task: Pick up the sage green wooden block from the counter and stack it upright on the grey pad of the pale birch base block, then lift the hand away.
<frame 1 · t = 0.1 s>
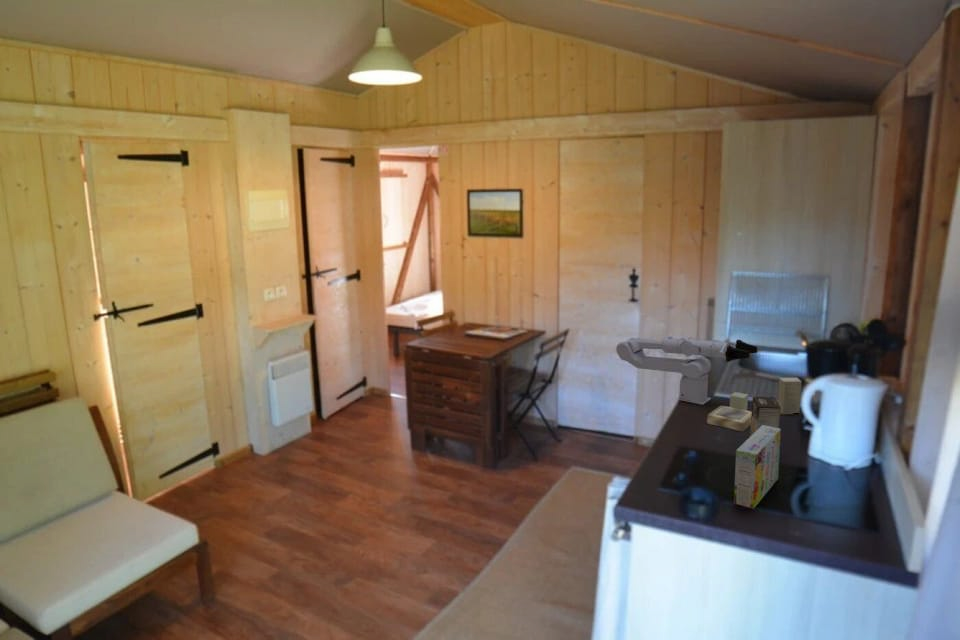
hand: (753, 352, 228), 22 cm above the worktop, tool horizontal, fingers open, 7 cm apart
skincare box: (787, 412, 231), on the worktop
base block: (731, 422, 223), on the worktop
green block: (738, 411, 233), on the worktop
snack box: (756, 492, 175), on the worktop
coffee box: (762, 452, 199), on the worktop
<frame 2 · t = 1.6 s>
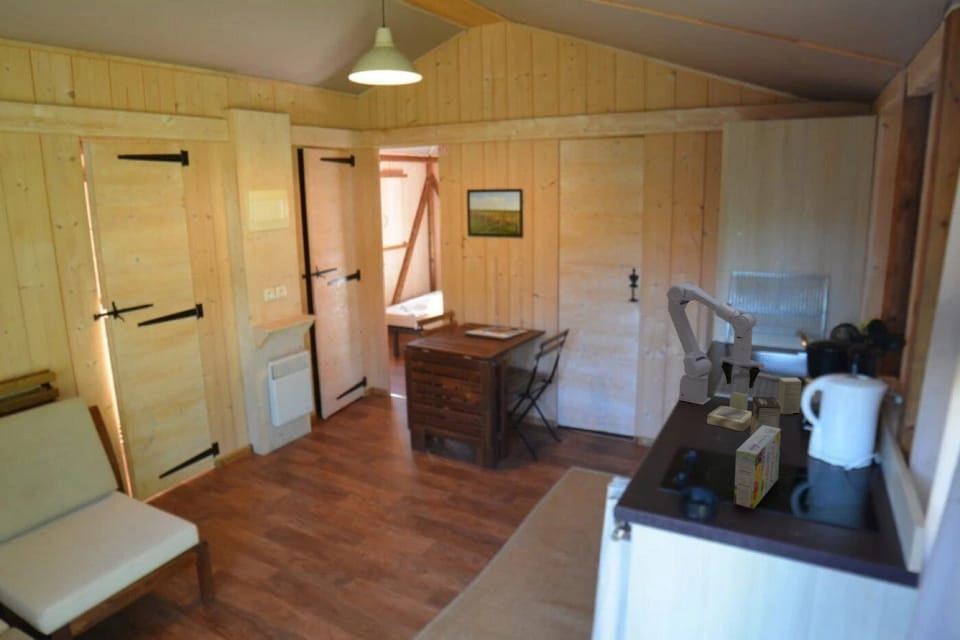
hand: (739, 385, 231), 9 cm above the worktop, tool pointing down, fingers open, 7 cm apart
nothing on the worktop moved.
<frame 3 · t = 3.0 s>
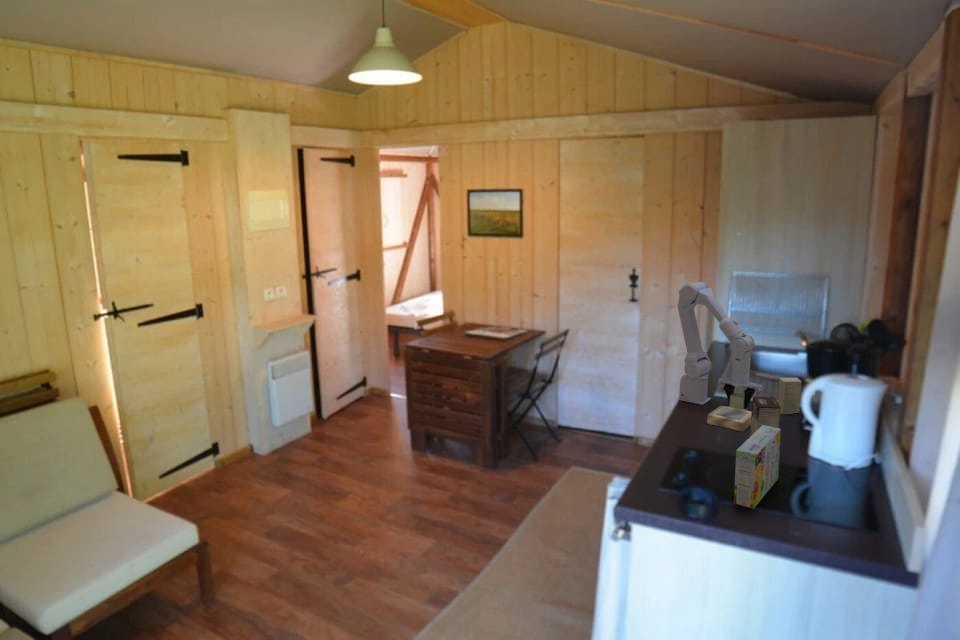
hand: (738, 406, 232), 2 cm above the worktop, tool pointing down, fingers closed on green block, 5 cm apart
green block: (738, 411, 233), on the worktop, touching gripper
everything else where it was.
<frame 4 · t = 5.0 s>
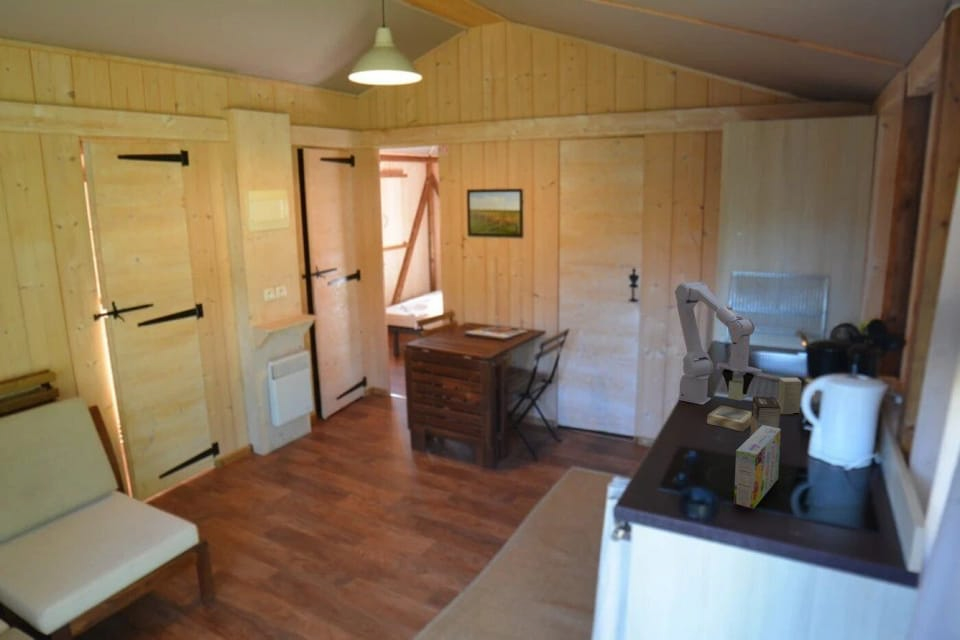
hand: (737, 392, 227), 8 cm above the worktop, tool pointing down, fingers closed on green block, 5 cm apart
green block: (737, 397, 227), point 6 cm above the worktop, touching gripper
everything else where it was.
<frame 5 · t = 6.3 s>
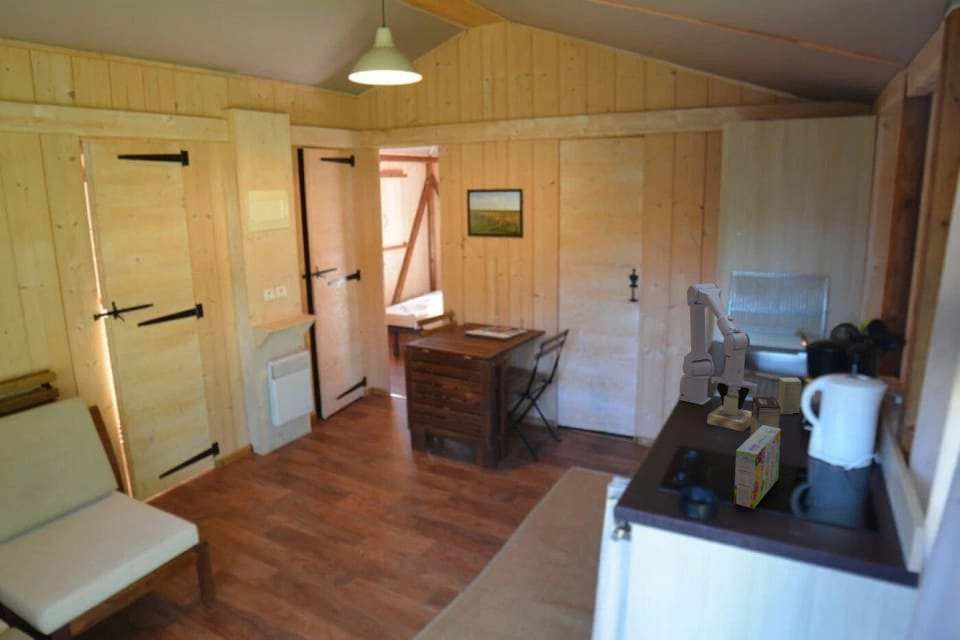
hand: (732, 406, 221), 5 cm above the worktop, tool pointing down, fingers closed on green block, 5 cm apart
green block: (732, 412, 222), point 3 cm above the worktop, touching base block, gripper
everything else where it was.
when the fingers open (5 cm above the worktop, at t = 7.0 s): green block stays where it is, resting on base block.
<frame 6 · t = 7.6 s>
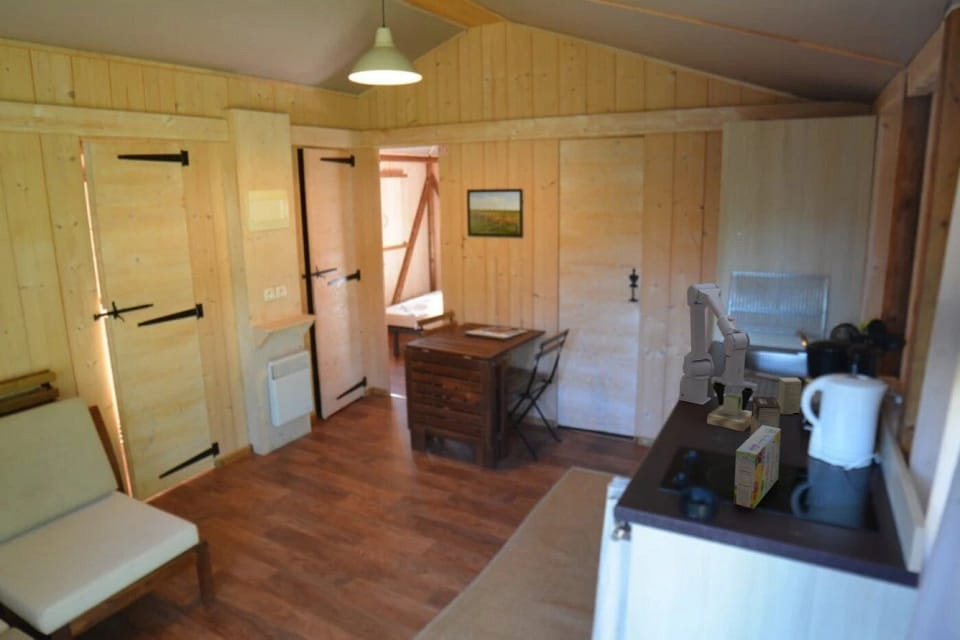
hand: (732, 407, 221), 5 cm above the worktop, tool pointing down, fingers open, 7 cm apart
green block: (732, 412, 222), point 3 cm above the worktop, touching base block
everything else where it was.
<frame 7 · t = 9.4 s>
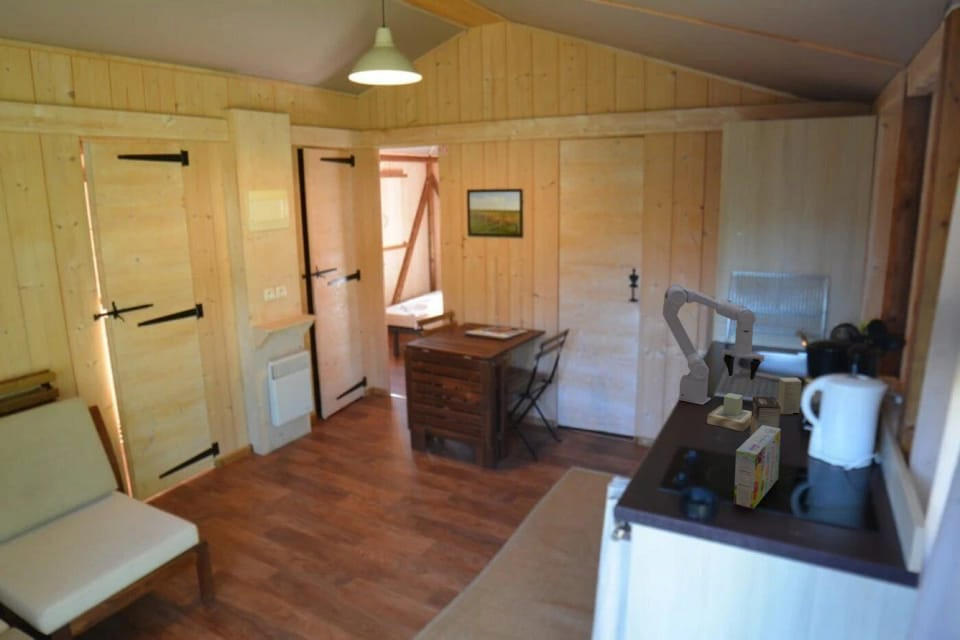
hand: (741, 377, 240), 9 cm above the worktop, tool pointing down, fingers open, 7 cm apart
nothing on the worktop moved.
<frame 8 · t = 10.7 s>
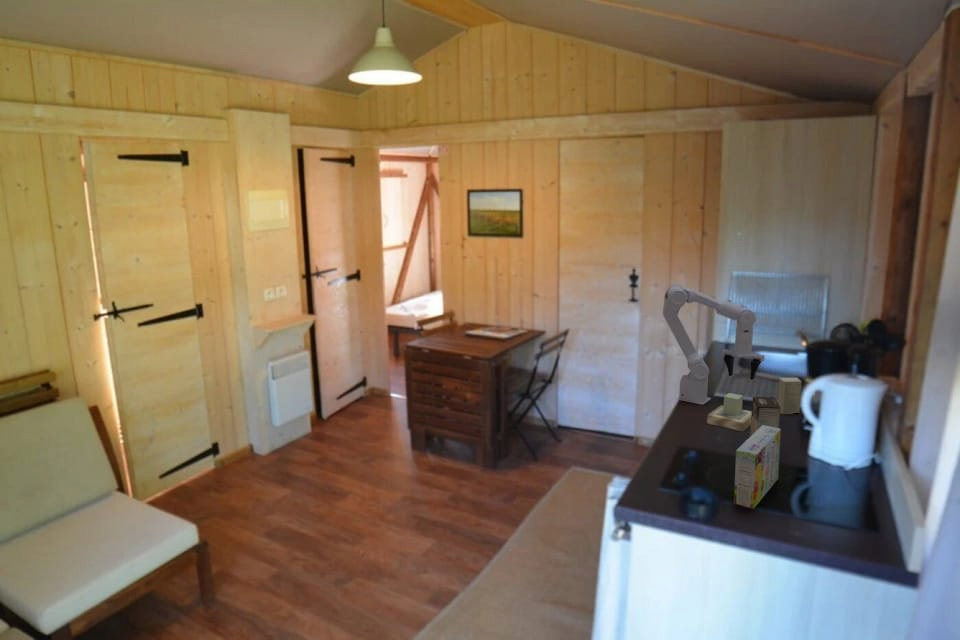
hand: (741, 377, 240), 9 cm above the worktop, tool pointing down, fingers open, 7 cm apart
nothing on the worktop moved.
at the end: green block inside the target area on the base block (0.4 cm from its centre), point 3.2 cm above the base block's base; green block tilted 0°; the gripper is holding nothing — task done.
